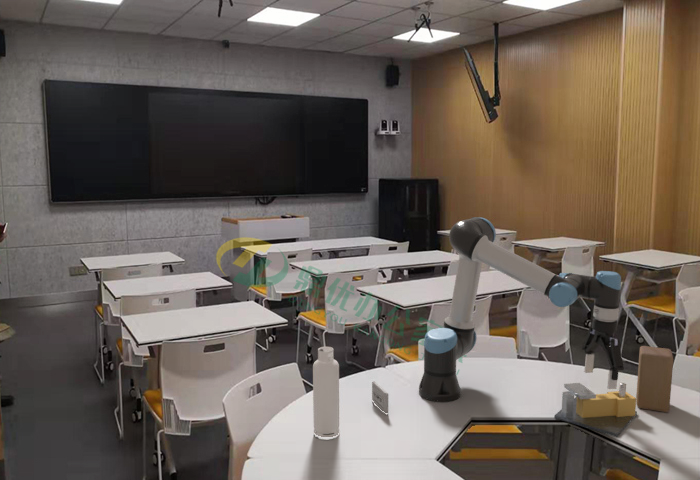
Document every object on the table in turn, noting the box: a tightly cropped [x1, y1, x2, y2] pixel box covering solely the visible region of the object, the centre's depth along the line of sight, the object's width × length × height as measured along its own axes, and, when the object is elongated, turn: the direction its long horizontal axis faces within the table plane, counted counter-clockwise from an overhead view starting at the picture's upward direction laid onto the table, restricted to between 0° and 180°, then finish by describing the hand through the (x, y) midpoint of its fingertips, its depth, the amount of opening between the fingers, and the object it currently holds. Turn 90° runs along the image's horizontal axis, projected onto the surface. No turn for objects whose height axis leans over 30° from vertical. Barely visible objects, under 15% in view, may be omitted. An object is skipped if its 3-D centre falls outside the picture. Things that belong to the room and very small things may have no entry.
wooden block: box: [635, 345, 674, 413], centre depth 204 cm, size 10×10×20 cm
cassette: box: [371, 381, 389, 414], centre depth 203 cm, size 12×2×8 cm, turn 21°
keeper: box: [561, 382, 596, 418], centre depth 195 cm, size 8×10×10 cm
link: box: [576, 390, 637, 418], centre depth 197 cm, size 18×6×6 cm, turn 99°
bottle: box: [312, 346, 340, 437], centre depth 183 cm, size 8×8×28 cm
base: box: [554, 382, 638, 438], centre depth 196 cm, size 20×21×11 cm
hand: (599, 380), depth 195 cm, fingers open, 13 cm apart
